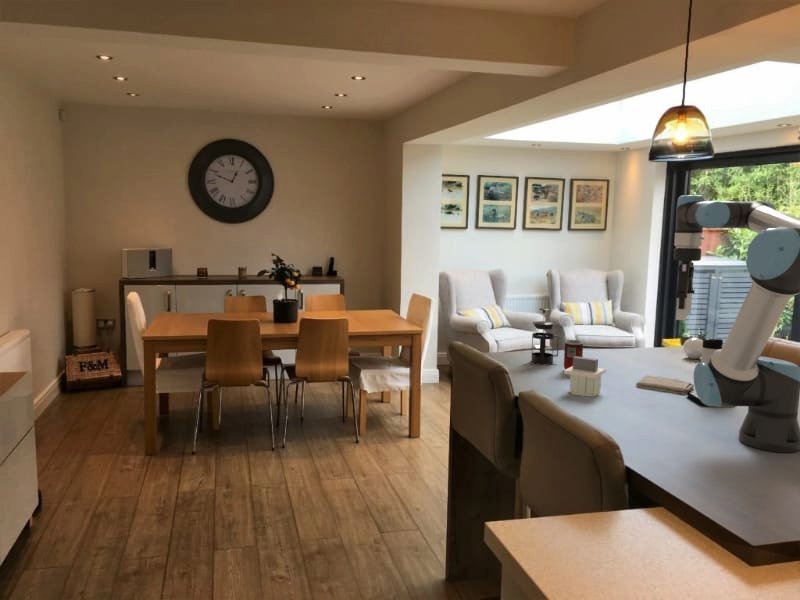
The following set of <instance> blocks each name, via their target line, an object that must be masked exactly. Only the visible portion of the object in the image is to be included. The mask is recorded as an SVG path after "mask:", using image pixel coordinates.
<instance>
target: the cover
mask: <svg viewBox="0 0 800 600" xmlns="http://www.w3.org/2000/svg"><path fill="white" fill-rule="evenodd" d="M606 372H607V369H606V368H601V367H599V359H596V358H590V357H585V356H583V357H577V356H575V357H573V366H572V367H570V368H568V369H566V370H565V369H564V370H563V375H576V376H582V377H589V378H597V377H599V376H600V375H601V376H603V374H604V375H605V374H606Z"/></svg>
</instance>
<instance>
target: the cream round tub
mask: <svg viewBox="0 0 800 600" xmlns="http://www.w3.org/2000/svg"><path fill="white" fill-rule="evenodd" d="M569 381H570V382H569V391H570V392H571V393H570V394H572V393H573V394H572V395H574V394H576V395H575V396H578V395H580V396H579V397H584V396H594V397H597V395H598V396H600V395H601V386H602V385H601V384H602V375H600V376H599V377H597V378H589V377H582V376H576V375H570V377H569ZM599 394H600V395H599Z"/></svg>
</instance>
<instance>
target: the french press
mask: <svg viewBox="0 0 800 600" xmlns="http://www.w3.org/2000/svg"><path fill="white" fill-rule="evenodd" d="M538 310H540V311H542V313H543V317H542V318H543V319H542V320H541V321H540V320H539V321H533V322H532V324H533V325H534V327H535V329H537V330H542V332H533V333H532V337H531V359H530V362H531V363H532V364H536V365H542V364H548V365H553V364H554V363H553V362H554V358H555V357H559V341H560V340H559V339H560V336H559V334H558V335H557V334H554V333H550V332H544V330H548V331H549V330H553V329H554V326H555V322H552V321H548V320H547V321H545V314H546V311H549V310H550V308H545V307H544V308H543V307H541V308H539V309H538ZM555 338H557V346H556V347H557V348H556V354H554V353H550V352H546V351H554V349H555V347H554V346H555ZM534 339H538V340H539V344H538V345H533V344H534ZM546 340H552V346H550V345H546ZM533 350H536V351H539V352H533ZM552 363H553V364H552Z"/></svg>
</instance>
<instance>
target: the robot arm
mask: <svg viewBox="0 0 800 600" xmlns="http://www.w3.org/2000/svg"><path fill="white" fill-rule="evenodd" d="M675 210H676V211H675V212H676V215H675V216H676V217H675V232H674V242H673V246H675V248H673V259H674V261H681V264H679V267H678V283H677V292H676V294H674V298H675V299H676V308H675V309H676V311H675V312H676V313H675V320H676V321H677V320H678V321H687V315H691V313H692V299H693V297H692V296H693V294H695V289H694V288H693V285H694V284H693V283H694V282H693V281H694V280H693V279H694V272H695V266H694V262H699V261H701V259H702V249H701V247H702V244H703V240H705V236H703V233H704V231H703V229H747V230H749V231H752V232H754V233H757V234H756V235H755V236H754V237H753V239H752V240H751V241H750V244H749V245H748V248H747V251H746V256H747V258H746V259H745V264H746V268H747V271H748V273H749V278H750V280H751V281H752V284H751V286H750V288H749V290H748V292H747V294H746V296H745V298H744V300H743V302H742V305H741V307H740V309H739V310H738V314H737V316H736V318H735V320H734V322H733V324H732V326H731V328H730V331H729V333H728V334H727V337H726V339H725V340H724V341H725V342H723V345H722V349H719V350H717V351H715V352H714V353H713V354H712V356H711V358H710V360H709V362H708V363H705V362H702V363H701V362H698V363H697V364H696V365H695V367H694V370H693V384H694V389H695V393H696V395H697V397H698V398H699V401H700V402H701V403H702V404H703V405H705V406H708V407H715V408H722V407H724V408H728V407H730V408H733V407H748V408H747V413H746V415H745V417H744V420H743V421H742V424H741V426H740V428H739V430H738V440H739V441H740V442H741V443H742V444H745V445H747V446H749V447H751V448H755V449H759V450H762V451H768V452H773V453H774V452H775V453H796V452H799V451H800V424H799V421H798V418H799V417H798V414H799V406H800V405H799V404H800V403H799V402H800V366H799V364H798V365H797V364H796V363H793V362H790V361H788V360H785V359H784V360H783V359H779V358H773V357H770V356H769V357H768V356H763V355H762V353H763V351H764V350H765V348H766V345H767V343H768V342H769V340H770V337H771V335H772V334H773V332H774V329H775V328H776V326H777V325H778V322H779V320H780V318H781V317H782V314H783V313H784V311H785V309H786V308H787V305H788V303H789V301H790V300H791V298H792V296H797V295H800V217H797V216H794V215H791V214H788V213H786V212H783V211H780V210H778V209H777V207H775V205H774V204H773V203H772V202H769V201H768V202H767V201H759V200H758V201H727V200H726V201H723V200H722V201H719V200H707V201H706V200H705V196H703V195H699V194H697V195H691V194H690V195H689V194H688V195H680V196H679V197H678V198H677V202H676V208H675ZM761 355H762V356H761Z"/></svg>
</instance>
